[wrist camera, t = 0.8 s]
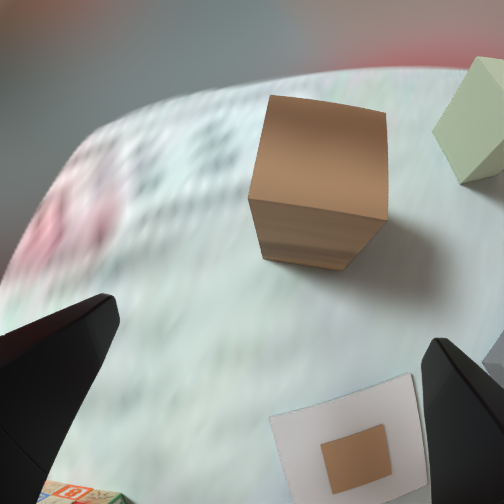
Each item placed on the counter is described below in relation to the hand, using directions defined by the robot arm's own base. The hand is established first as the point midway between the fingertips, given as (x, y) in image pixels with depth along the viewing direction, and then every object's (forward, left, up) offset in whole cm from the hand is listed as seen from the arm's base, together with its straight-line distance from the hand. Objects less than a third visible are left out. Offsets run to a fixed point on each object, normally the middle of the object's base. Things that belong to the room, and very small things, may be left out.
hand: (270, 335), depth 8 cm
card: (-10, -3, -13) cm, 17 cm away
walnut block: (+7, -4, -13) cm, 15 cm away
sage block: (+10, -21, -13) cm, 26 cm away
